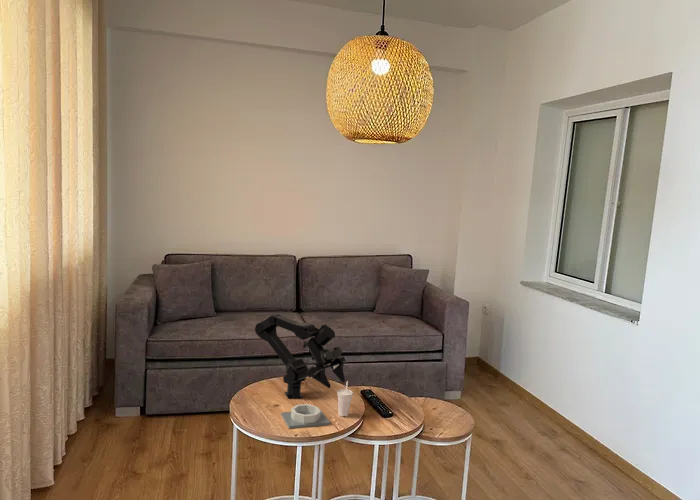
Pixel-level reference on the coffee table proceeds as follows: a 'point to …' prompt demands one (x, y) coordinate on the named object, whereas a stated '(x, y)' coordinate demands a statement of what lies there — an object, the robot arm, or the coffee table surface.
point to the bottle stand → (304, 417)
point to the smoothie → (344, 400)
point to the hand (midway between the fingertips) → (337, 384)
